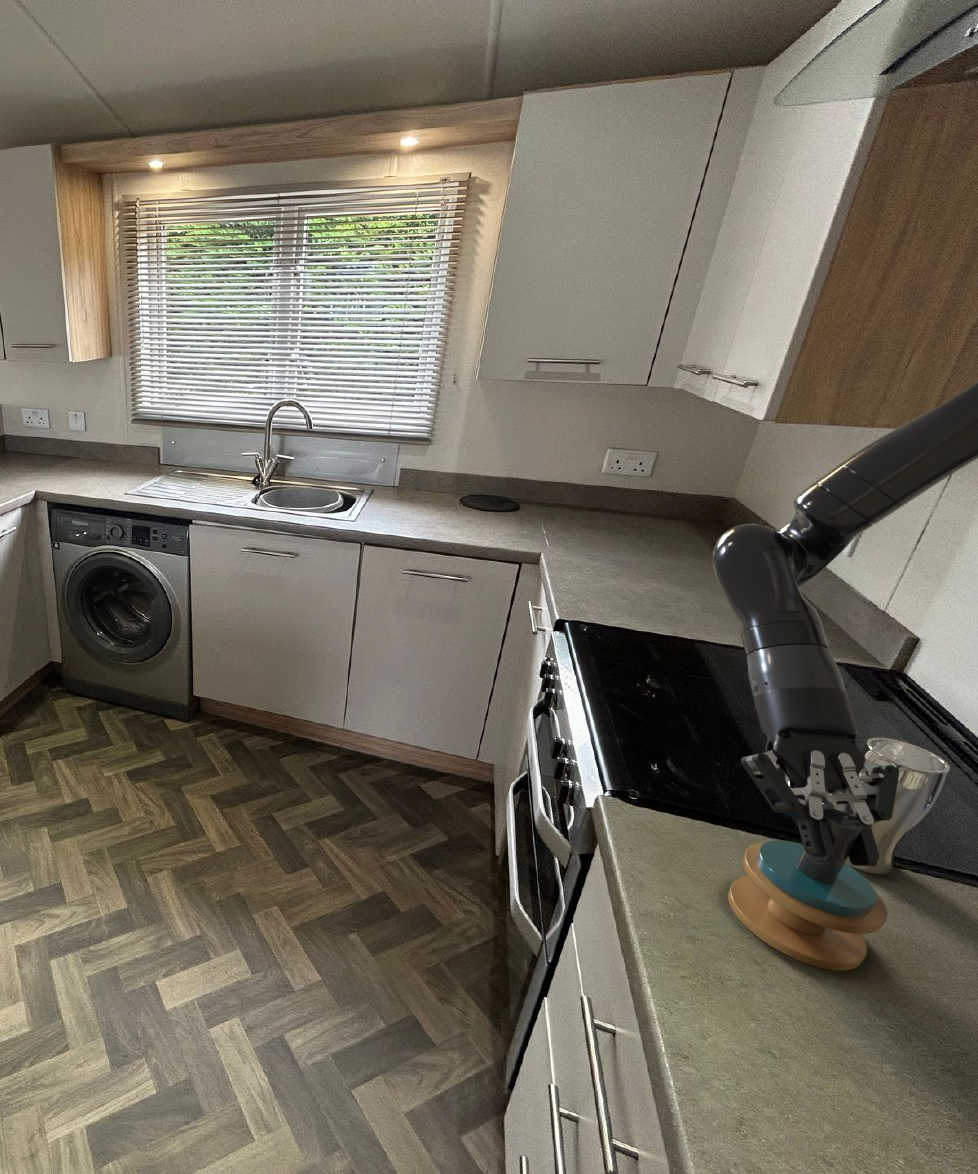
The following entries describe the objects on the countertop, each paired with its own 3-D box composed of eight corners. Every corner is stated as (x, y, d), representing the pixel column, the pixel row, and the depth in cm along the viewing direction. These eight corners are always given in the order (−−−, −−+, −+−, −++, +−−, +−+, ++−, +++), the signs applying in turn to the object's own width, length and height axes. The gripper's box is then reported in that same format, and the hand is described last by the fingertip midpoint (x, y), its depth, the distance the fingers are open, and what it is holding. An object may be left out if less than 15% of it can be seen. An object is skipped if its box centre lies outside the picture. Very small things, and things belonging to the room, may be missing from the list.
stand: (809, 888, 72) (829, 848, 70) (894, 978, 62) (921, 933, 60) (705, 877, 74) (721, 837, 71) (772, 962, 63) (793, 919, 61)
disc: (825, 853, 69) (855, 793, 66) (898, 922, 61) (936, 857, 58) (736, 844, 70) (761, 784, 67) (795, 911, 62) (827, 846, 59)
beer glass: (809, 827, 81) (855, 729, 76) (883, 848, 78) (937, 748, 73) (825, 862, 76) (876, 760, 70) (905, 887, 72) (965, 781, 67)
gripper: (752, 678, 66) (795, 854, 60) (901, 690, 65) (964, 872, 58) (705, 696, 73) (740, 855, 66) (839, 706, 71) (889, 872, 65)
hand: (844, 862), depth 62 cm, fingers closed on disc, 3 cm apart
